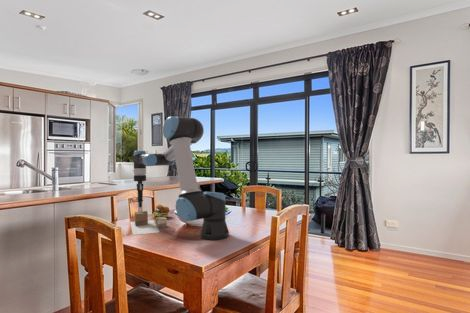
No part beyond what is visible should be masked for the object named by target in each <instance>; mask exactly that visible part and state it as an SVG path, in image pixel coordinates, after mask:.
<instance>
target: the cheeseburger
mask: <svg viewBox="0 0 470 313" xmlns="http://www.w3.org/2000/svg"><path fill="white" fill-rule="evenodd" d="M155 209H156V210H154V211H153V213H152V217H151V218H152V220H154V219H155V220H156V217H165V218H167V217H168V215H169V213H170V208H169V207H168V206H163V205H162V204H158V205H157V206H155ZM167 219H168V218H167Z"/></svg>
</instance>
